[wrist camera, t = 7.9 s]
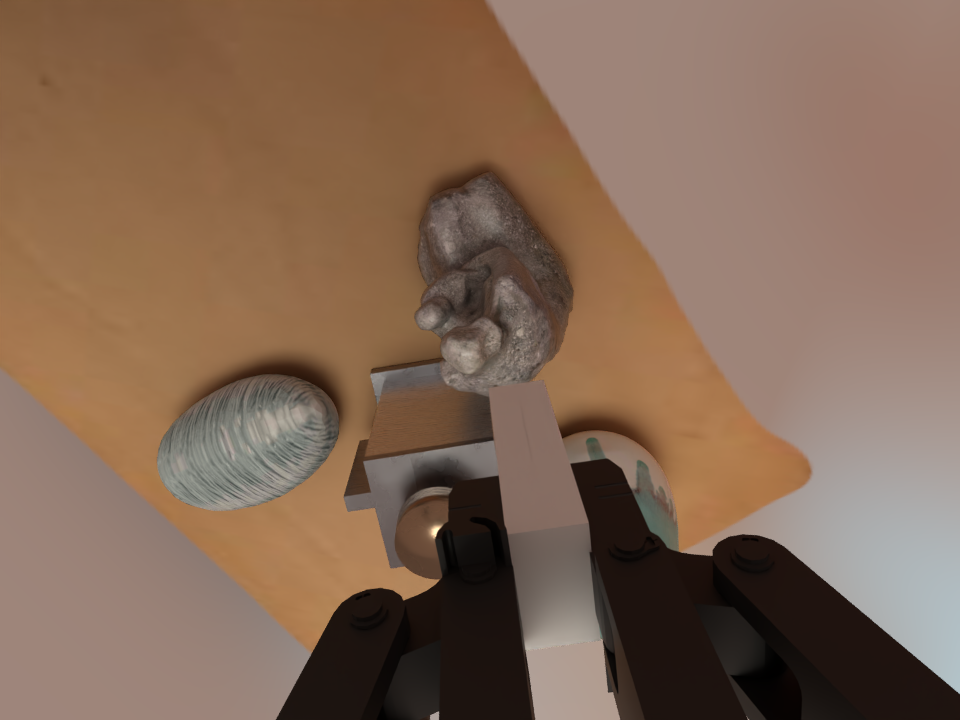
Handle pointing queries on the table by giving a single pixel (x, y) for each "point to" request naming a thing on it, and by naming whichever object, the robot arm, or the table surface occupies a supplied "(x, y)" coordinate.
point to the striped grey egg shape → (248, 442)
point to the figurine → (489, 287)
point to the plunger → (421, 531)
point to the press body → (418, 443)
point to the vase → (632, 477)
